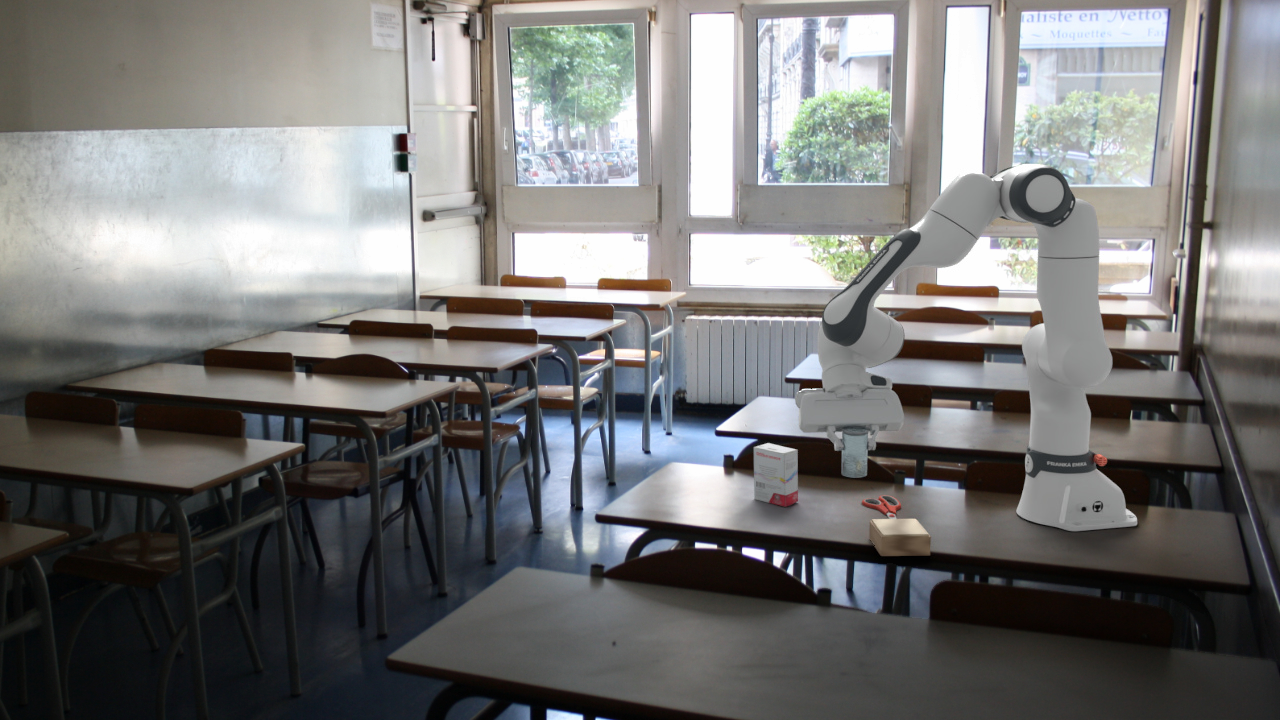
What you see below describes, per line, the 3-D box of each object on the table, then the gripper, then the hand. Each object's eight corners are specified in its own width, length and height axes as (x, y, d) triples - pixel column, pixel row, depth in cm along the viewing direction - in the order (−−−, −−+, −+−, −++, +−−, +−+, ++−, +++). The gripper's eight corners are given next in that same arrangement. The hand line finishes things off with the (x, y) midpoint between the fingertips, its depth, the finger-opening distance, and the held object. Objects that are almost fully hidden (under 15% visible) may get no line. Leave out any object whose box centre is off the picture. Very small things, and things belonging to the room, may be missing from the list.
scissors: (896, 536, 195) (896, 529, 194) (857, 502, 215) (857, 496, 215) (933, 534, 196) (934, 526, 195) (891, 500, 216) (891, 494, 216)
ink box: (799, 503, 214) (800, 449, 212) (784, 508, 210) (785, 453, 208) (767, 494, 220) (767, 441, 218) (752, 499, 216) (752, 446, 214)
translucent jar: (864, 470, 196) (865, 425, 194) (870, 477, 191) (871, 431, 190) (838, 470, 196) (839, 425, 194) (843, 478, 191) (845, 432, 189)
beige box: (915, 538, 192) (916, 518, 192) (930, 555, 183) (930, 534, 183) (869, 538, 192) (869, 518, 191) (881, 556, 183) (881, 535, 183)
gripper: (795, 380, 197) (803, 441, 189) (899, 378, 197) (911, 439, 190) (791, 397, 202) (799, 458, 195) (892, 396, 203) (904, 456, 195)
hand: (855, 448), depth 192 cm, fingers closed on translucent jar, 5 cm apart
